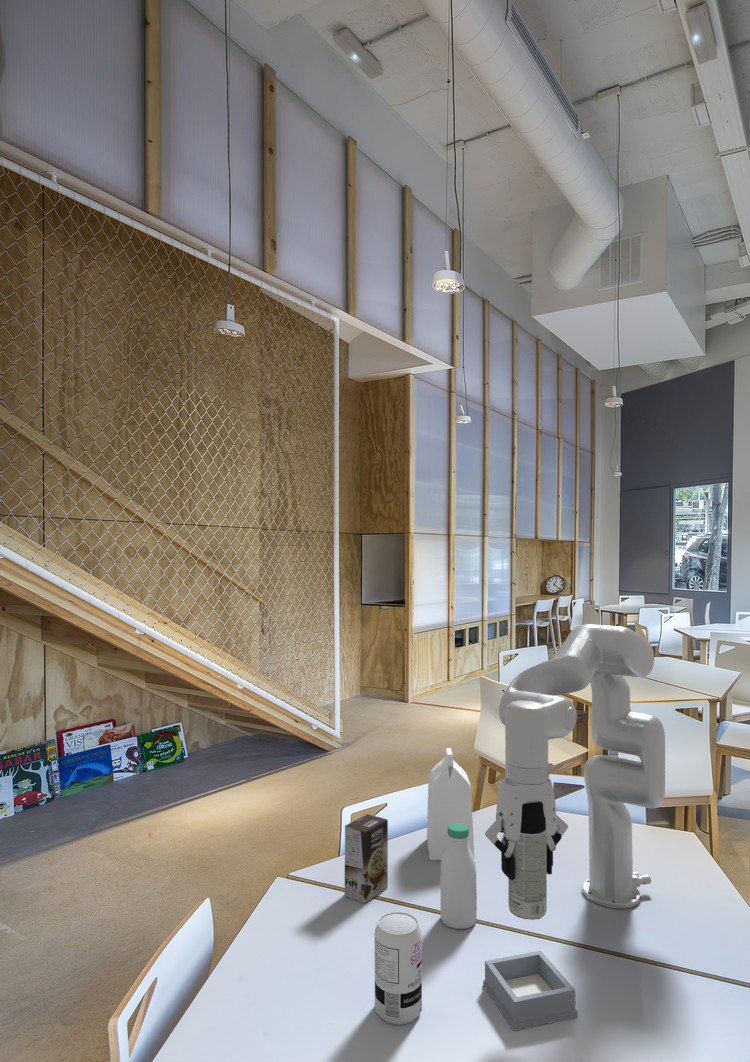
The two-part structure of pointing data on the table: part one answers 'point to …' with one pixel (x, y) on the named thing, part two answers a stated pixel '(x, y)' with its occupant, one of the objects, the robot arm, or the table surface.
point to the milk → (447, 804)
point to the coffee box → (366, 857)
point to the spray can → (530, 866)
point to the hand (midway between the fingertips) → (527, 872)
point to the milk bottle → (458, 880)
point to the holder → (529, 990)
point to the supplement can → (398, 968)
